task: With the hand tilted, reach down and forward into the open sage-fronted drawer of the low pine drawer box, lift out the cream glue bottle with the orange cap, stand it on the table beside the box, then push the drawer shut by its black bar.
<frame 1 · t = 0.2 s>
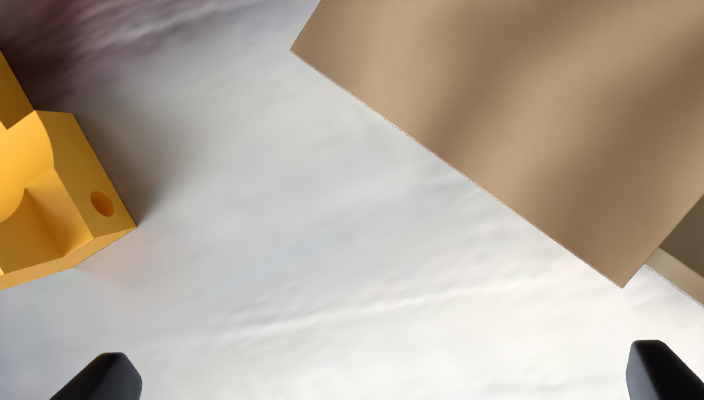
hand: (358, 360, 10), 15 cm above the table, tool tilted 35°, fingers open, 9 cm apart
cabinet: (532, 51, 22), on the table
pipe clamp: (47, 143, 27), on the table
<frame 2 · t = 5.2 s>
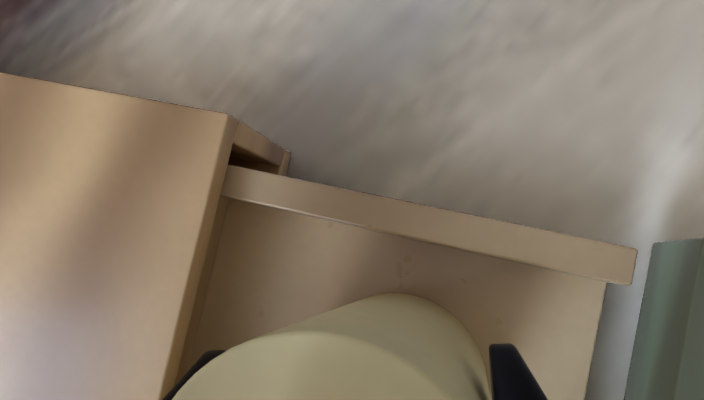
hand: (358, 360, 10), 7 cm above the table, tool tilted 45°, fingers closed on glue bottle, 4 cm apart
cabinet: (61, 273, 18), on the table
glue bottle: (396, 382, 14), point 2 cm above the table, touching drawer, gripper
when the fingers open (5 cm above the table, at t = 13.5 s): glue bottle stays where it is, on the table.
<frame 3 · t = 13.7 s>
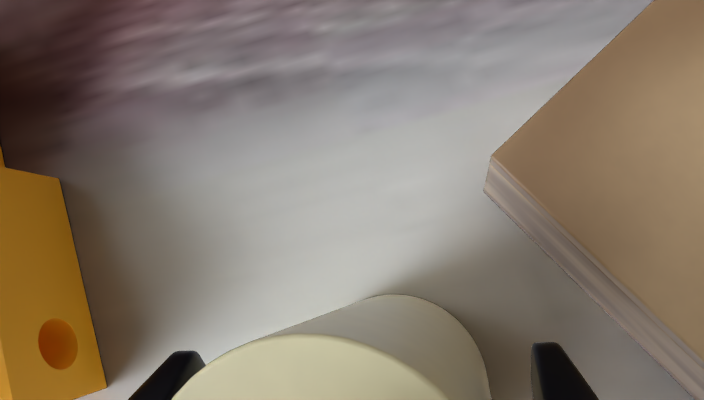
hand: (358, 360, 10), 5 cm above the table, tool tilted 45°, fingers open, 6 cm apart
glue bottle: (396, 384, 14), on the table
pipe clamp: (8, 216, 17), on the table
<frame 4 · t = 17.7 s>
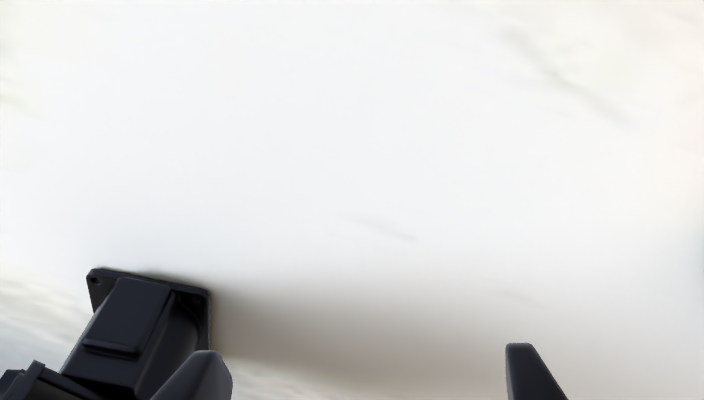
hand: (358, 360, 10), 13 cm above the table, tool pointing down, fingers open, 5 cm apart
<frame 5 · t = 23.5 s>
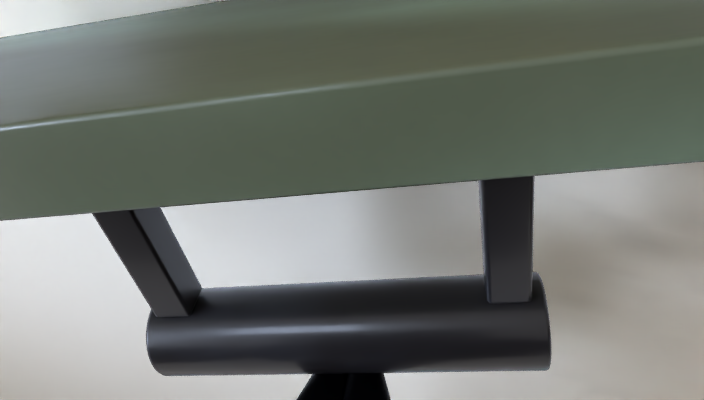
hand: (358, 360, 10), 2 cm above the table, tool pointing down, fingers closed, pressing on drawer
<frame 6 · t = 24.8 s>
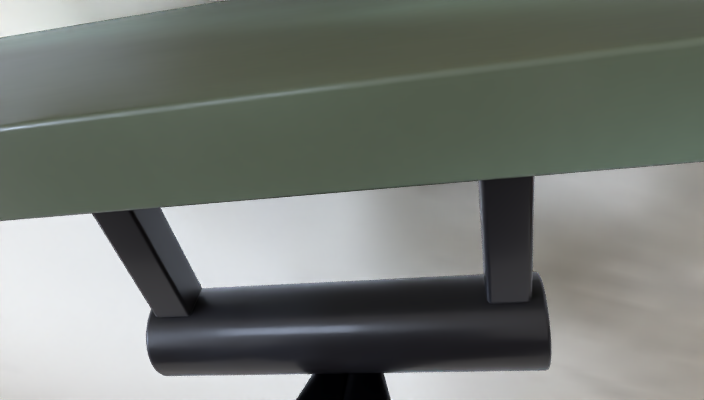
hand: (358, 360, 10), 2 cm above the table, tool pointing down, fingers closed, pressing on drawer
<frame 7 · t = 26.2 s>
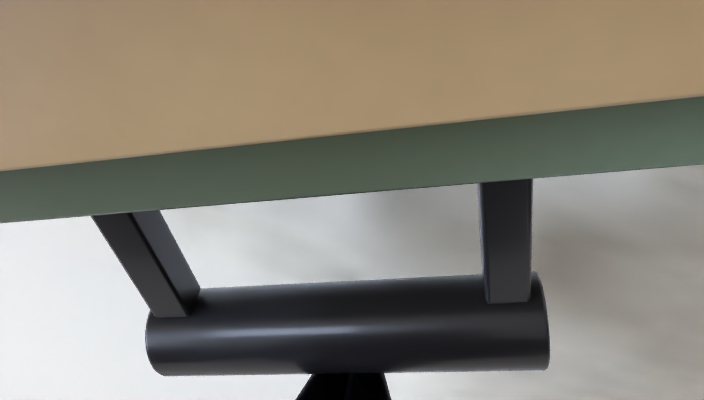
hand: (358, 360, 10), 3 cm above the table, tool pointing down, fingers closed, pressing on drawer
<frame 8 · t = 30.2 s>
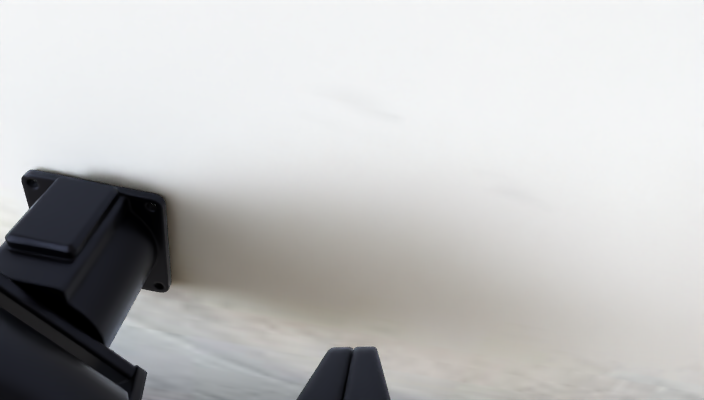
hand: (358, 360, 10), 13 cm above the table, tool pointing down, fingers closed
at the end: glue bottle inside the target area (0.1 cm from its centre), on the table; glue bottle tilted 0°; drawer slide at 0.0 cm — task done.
